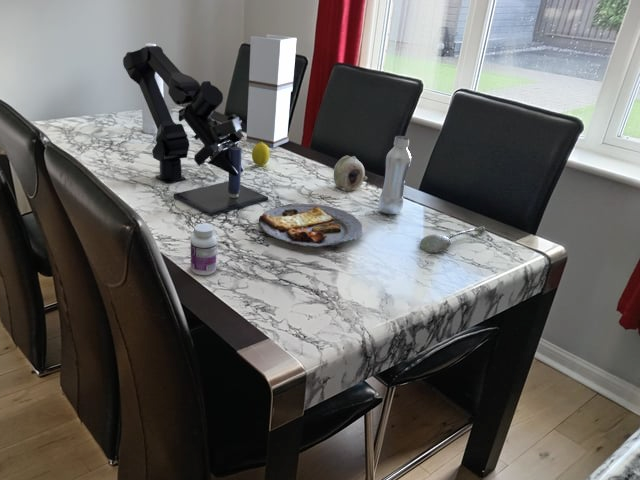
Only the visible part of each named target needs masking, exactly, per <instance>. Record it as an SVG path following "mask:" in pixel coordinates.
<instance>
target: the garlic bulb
mask: <svg viewBox="0 0 640 480" xmlns="http://www.w3.org/2000/svg"><path fill="white" fill-rule="evenodd" d="M367 179H368V176H366V171H365V167H364V165H363V163H362V162H361V161H359V159H357V157H356V156H355V155H353V156H350V155H345V156H342V157H341V158H340V159H339V160H338V161H337V162H336V164H335V165H334V168H333V182H334V184H335V186H336V187H337V188H338V189H341V190H342V191H346V192H350V191H351V192H352V191H356V190H357V189H358V188H360V187H361V186H362V185H363V183H364V181H367Z"/></svg>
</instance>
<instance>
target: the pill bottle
mask: <svg viewBox="0 0 640 480" xmlns="http://www.w3.org/2000/svg"><path fill="white" fill-rule="evenodd" d="M214 234H215V227H214V226H213V225H212V224H209V223H198V224H196V225H194V227H193V235H192V236H191V238H190V270H191V271H192V272H193V274H196V275H199V276H208V275H213V274H214V273H215V272H216V271H217V256H218V255H217V253H218V239H217V237H216V235H214Z"/></svg>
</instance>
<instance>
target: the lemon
mask: <svg viewBox="0 0 640 480" xmlns="http://www.w3.org/2000/svg"><path fill="white" fill-rule="evenodd" d="M270 155H271V153H270V147H269V146H267V145H266V144H264V143H263V142H260V143H258V144H255V145H254V146H253V147H252V151H251V159H252V161H253V164H255V165H256V166H258V167H259V168H262V167H263V166H265V165H267V163H269V161H270V157H271V156H270Z"/></svg>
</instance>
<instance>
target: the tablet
mask: <svg viewBox="0 0 640 480" xmlns="http://www.w3.org/2000/svg"><path fill="white" fill-rule="evenodd" d="M173 198H174V199H176V200H178V201H180V202H181V203H184V204H186V205H188V207H192V208H194V209H195V210H196V211H199V212H201V213H203V214H205V215H207V216H209V217H213V216H218V215H219V214H223V213H227V212H232V211H234V210H238V209H242V208H245V207H248V206H253V205H256V204H260V203H263V202H267V201H269V196H267V195H265V194H262V193H260V192H258V191H256V190H254V189H251V188H249V187H246V186H244V185H242V184H240V194H238V197H236V198H233V197H230V194H229V193H228V180H227V181H223V182H218V183H215V184H210V185H207V186H206V185H205V186H202V187H197V188H194V189H190V190H189V189H188V190H186V191H181V192H177V193H173Z"/></svg>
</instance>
